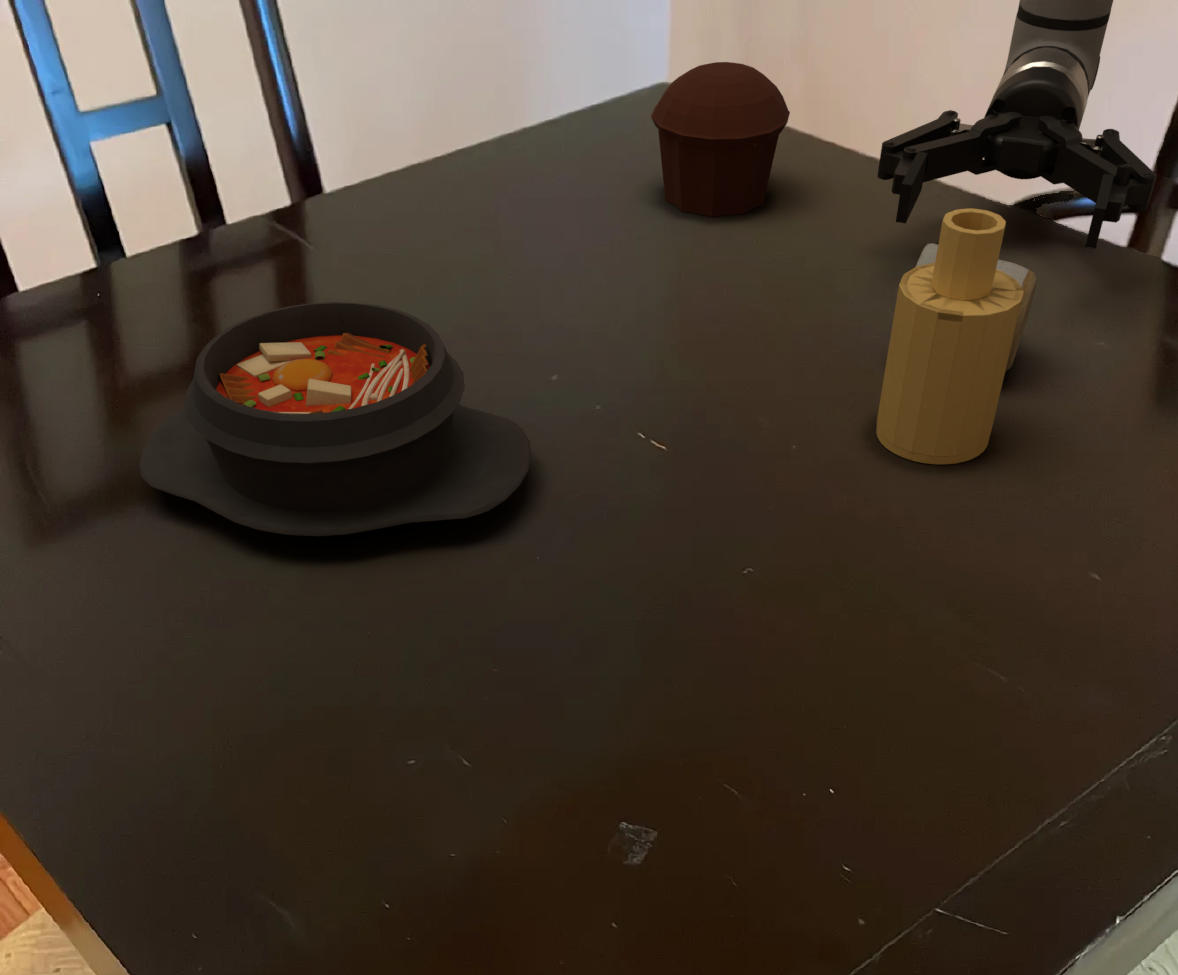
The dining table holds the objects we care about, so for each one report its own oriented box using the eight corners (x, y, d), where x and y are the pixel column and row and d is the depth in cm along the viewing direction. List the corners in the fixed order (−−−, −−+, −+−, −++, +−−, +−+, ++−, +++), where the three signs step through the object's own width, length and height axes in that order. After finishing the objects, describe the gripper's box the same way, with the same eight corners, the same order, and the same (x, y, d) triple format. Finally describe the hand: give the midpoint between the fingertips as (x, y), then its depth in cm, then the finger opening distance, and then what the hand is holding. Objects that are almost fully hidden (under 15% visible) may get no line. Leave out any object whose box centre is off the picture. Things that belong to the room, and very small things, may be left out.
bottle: (995, 418, 91) (1045, 205, 81) (979, 473, 86) (1029, 254, 76) (888, 400, 93) (923, 189, 83) (865, 453, 88) (900, 236, 78)
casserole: (558, 423, 91) (555, 301, 85) (496, 583, 79) (487, 455, 72) (210, 392, 94) (182, 273, 88) (97, 541, 82) (56, 415, 76)
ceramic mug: (1005, 396, 93) (1032, 285, 87) (889, 376, 95) (907, 267, 89) (1027, 332, 100) (1053, 225, 94) (918, 314, 102) (937, 209, 96)
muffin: (691, 233, 112) (697, 102, 105) (625, 187, 119) (627, 62, 111) (808, 204, 116) (822, 76, 108) (737, 162, 122) (746, 39, 115)
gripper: (1179, 182, 110) (1162, 292, 96) (877, 147, 115) (821, 245, 102) (1209, 81, 104) (1196, 182, 91) (890, 49, 110) (833, 139, 96)
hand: (997, 216), depth 96 cm, fingers open, 13 cm apart
